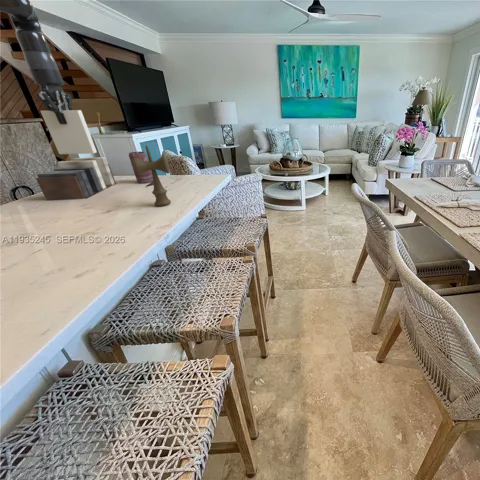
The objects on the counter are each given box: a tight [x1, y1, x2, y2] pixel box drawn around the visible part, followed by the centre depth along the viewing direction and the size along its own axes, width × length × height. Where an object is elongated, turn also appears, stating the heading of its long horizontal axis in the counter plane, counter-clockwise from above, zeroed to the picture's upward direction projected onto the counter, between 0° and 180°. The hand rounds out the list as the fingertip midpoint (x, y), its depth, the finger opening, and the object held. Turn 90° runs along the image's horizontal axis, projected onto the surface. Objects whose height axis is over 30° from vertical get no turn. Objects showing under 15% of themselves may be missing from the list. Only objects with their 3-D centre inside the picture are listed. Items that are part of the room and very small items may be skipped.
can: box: [128, 150, 154, 188], centre depth 114 cm, size 6×6×14 cm
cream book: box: [40, 109, 98, 155], centre depth 99 cm, size 12×2×15 cm, turn 99°
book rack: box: [35, 156, 118, 202], centre depth 102 cm, size 14×22×12 cm, turn 9°
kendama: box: [133, 145, 172, 207], centre depth 89 cm, size 6×10×20 cm, turn 113°
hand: (66, 123), depth 98 cm, fingers closed on cream book, 2 cm apart
